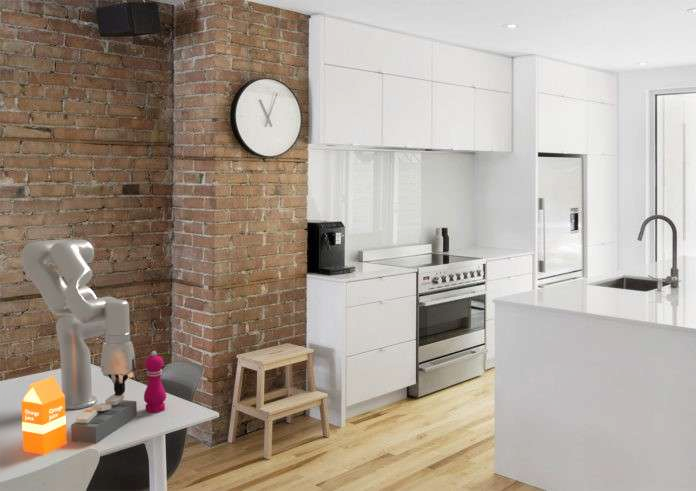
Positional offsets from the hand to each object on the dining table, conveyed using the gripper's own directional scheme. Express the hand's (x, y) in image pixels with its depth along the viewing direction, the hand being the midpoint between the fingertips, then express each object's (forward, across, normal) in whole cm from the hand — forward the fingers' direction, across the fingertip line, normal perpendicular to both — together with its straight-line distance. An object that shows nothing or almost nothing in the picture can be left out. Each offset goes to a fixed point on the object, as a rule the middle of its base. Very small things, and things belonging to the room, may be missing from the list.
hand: (119, 393), depth 229 cm
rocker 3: (+2, 0, -2) cm, 3 cm away
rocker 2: (+2, -1, -10) cm, 10 cm away
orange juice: (+8, -8, -28) cm, 30 cm away
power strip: (+8, +1, -7) cm, 11 cm away
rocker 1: (+2, -1, -18) cm, 18 cm away
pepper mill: (+8, +8, +9) cm, 14 cm away
